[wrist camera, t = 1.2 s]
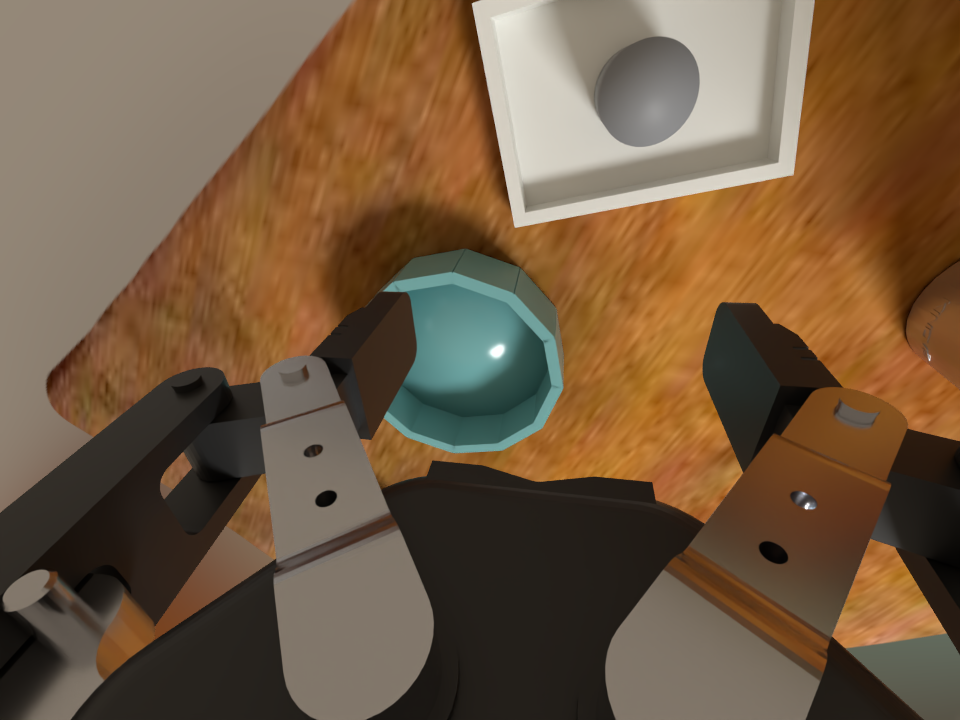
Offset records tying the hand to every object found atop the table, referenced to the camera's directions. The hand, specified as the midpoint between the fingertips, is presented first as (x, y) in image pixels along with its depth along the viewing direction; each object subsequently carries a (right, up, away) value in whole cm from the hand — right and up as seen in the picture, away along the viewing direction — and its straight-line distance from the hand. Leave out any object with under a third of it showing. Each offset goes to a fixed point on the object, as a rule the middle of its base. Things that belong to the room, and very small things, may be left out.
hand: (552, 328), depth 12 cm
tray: (+7, +14, +13) cm, 21 cm away
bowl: (-3, 0, +24) cm, 25 cm away
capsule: (+7, +14, +13) cm, 20 cm away
